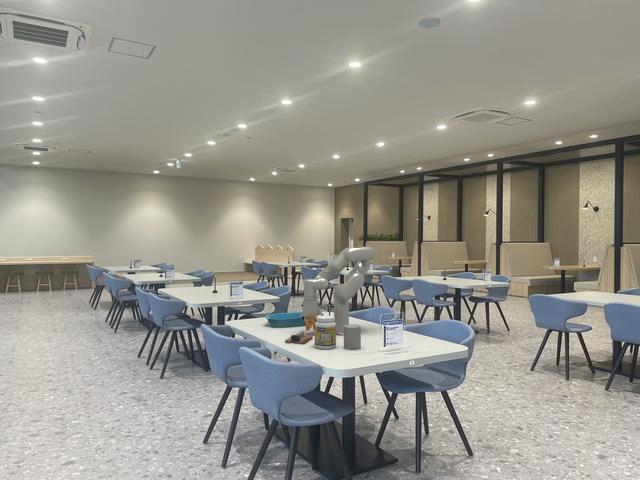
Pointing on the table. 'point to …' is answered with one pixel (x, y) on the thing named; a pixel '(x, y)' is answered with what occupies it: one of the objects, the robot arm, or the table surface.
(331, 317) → the supplement tub
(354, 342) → the gray cylinder
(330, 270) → the robot arm
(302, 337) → the rail board
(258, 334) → the table surface
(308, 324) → the lock block
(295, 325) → the casserole dish
